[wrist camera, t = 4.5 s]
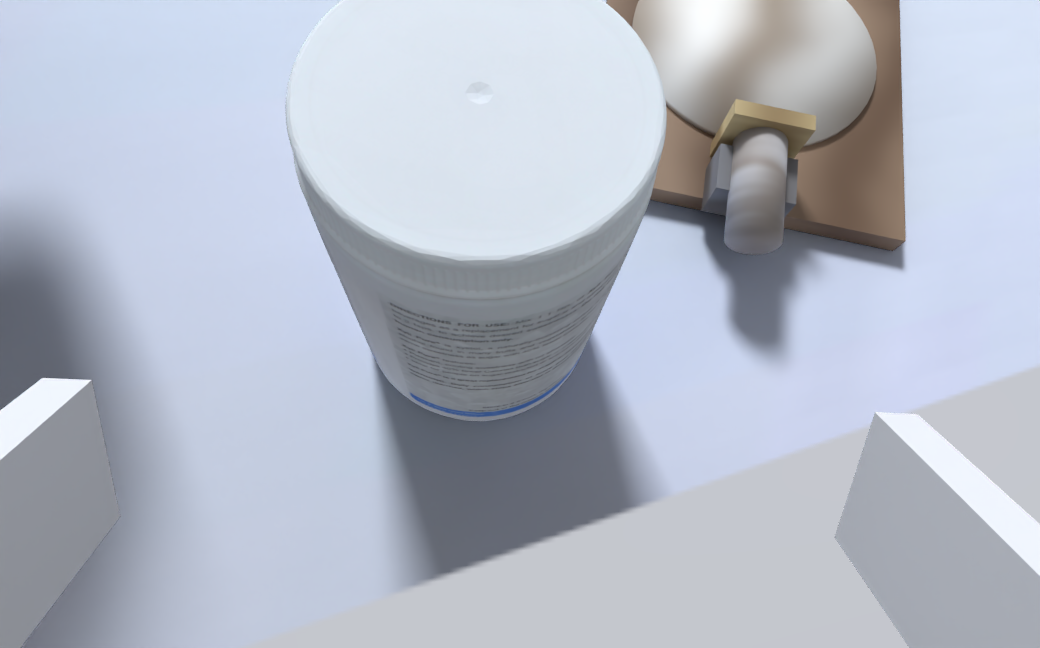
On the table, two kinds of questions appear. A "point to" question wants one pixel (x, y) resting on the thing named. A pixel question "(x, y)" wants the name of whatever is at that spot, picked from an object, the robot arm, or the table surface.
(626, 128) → the supplement tub
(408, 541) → the table surface
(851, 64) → the shaft board
